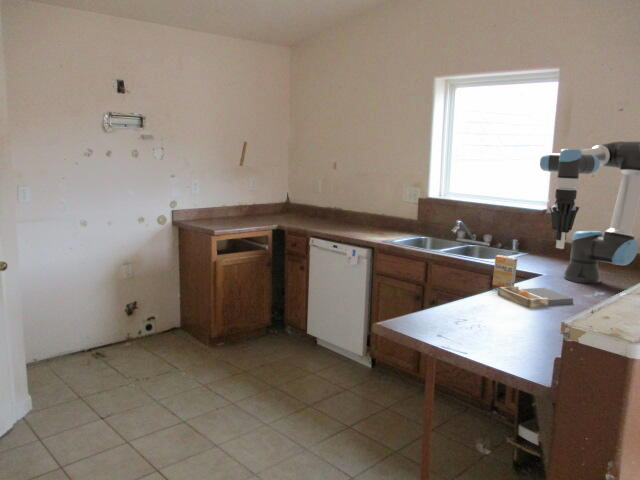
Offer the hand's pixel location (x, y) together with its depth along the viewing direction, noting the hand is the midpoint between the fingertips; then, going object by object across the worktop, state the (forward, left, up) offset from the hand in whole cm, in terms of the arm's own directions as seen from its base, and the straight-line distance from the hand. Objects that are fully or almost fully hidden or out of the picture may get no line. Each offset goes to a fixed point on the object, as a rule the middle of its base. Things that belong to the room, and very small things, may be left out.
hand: (559, 248), depth 210 cm
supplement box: (+10, -19, -21) cm, 30 cm away
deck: (+5, +1, -20) cm, 21 cm away
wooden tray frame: (+16, +1, -20) cm, 26 cm away
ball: (+16, +1, -20) cm, 26 cm away
